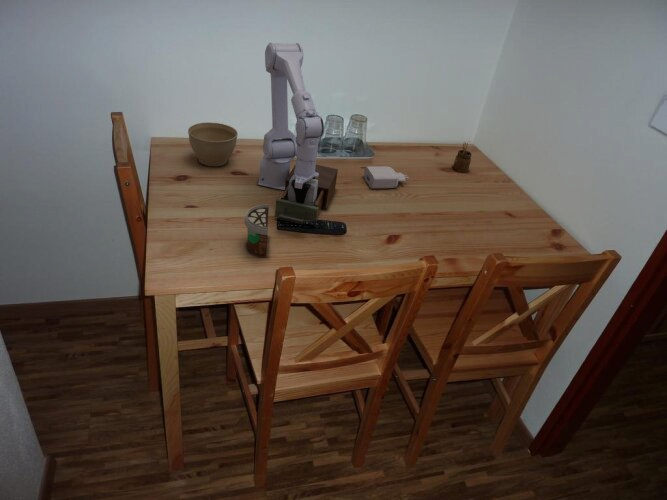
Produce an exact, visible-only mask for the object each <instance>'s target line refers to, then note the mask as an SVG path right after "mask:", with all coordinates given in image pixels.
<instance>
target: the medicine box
mask: <svg viewBox="0 0 667 500" xmlns="http://www.w3.org/2000/svg"><path fill="white" fill-rule="evenodd" d="M292 180H295V175H293V176H292V178H291V179H290V181H289V191H288V201H292V202H296V198H295V192H294V189H293V187H292V185H291V182H292ZM306 184H311V187H310V188H309V190H308V191H307V194H306V198H305V201H304V203H303V204H306V205H310V206H314V205H315V203H316V196H317V187H318V180H316V179H310V180H308V181H306Z"/></svg>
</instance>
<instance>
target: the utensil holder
mask: <svg viewBox="0 0 667 500" xmlns="http://www.w3.org/2000/svg"><path fill="white" fill-rule="evenodd" d="M471 143H472V141H467V142H465V141H464V142H463V144H462V149H460V150H458V152H457V154H456V156H455V158H454V161H453V165H452V168H453V170H454V171H456V172H459V173H466V172H468V171H469V168H470V165H471V163H472V152H471V150H472V148H469V146H470V144H471ZM467 149H469V150H467Z"/></svg>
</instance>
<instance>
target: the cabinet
mask: <svg viewBox="0 0 667 500" xmlns="http://www.w3.org/2000/svg"><path fill="white" fill-rule="evenodd" d="M295 167H296V164H295V165H294V166H293V168H292V169H291V170H290V171H289V175H288V177H287V178H286V181H285V190H286V188H287V187H288V185H289V181H290V179H291V178H292V176H293V175H295V174H294V171H295ZM315 172H317V173H319V176H318V177H317V178H315V179H316V180H318V187H317V189H321V190H325V195H324V202H323V205H322V207H321V209H320V210H322V211H327V208H328V206H329V204H330V202H331V199H332V198H333V195H334V193H335V191H336V184H337V179H338V172H339V169H338V168H334V167H329V166H325V165H321V164H316V167H315ZM285 190H284V191H285Z"/></svg>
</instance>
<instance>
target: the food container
mask: <svg viewBox="0 0 667 500" xmlns="http://www.w3.org/2000/svg"><path fill="white" fill-rule="evenodd" d="M269 213H270V204H259V205H255V206H253V207H251V208H250V209H249V210H248V211H247V213H246V214H245V217H244V225H245V227H246V228H247V229H246V230H247V231H246V232H247V247H248V250H249V251H250V253H252V254H253V255H255V256H258V257H263V258H267V250H268V237H269V236H268V235H269V234H268V233H269V216H270V215H269Z"/></svg>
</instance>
